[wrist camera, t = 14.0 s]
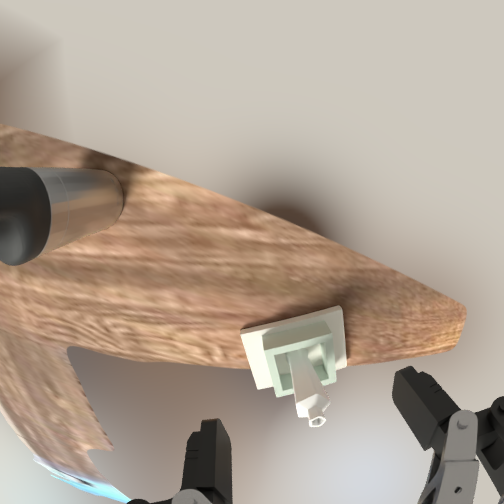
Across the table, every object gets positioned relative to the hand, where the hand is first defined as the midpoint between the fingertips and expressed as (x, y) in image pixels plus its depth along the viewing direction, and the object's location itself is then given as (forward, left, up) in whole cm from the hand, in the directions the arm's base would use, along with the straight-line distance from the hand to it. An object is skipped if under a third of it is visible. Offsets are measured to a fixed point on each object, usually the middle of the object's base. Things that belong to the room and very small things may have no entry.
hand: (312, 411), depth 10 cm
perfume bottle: (+1, -17, -28) cm, 33 cm away
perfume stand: (+2, -17, -29) cm, 34 cm away
